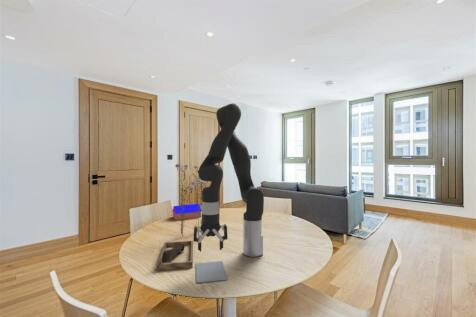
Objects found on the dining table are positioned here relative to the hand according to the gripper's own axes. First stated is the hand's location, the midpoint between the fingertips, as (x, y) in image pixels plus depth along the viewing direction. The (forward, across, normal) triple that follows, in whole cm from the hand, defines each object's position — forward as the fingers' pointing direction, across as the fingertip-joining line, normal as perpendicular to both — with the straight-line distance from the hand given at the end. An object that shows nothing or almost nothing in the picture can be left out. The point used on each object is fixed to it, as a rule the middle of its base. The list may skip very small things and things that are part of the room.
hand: (210, 250), depth 95 cm
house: (+10, +13, -85) cm, 87 cm away
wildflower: (+9, +8, -46) cm, 48 cm away
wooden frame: (+9, +15, -18) cm, 25 cm away
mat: (+9, 0, 0) cm, 9 cm away
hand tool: (+12, +15, -19) cm, 27 cm away
